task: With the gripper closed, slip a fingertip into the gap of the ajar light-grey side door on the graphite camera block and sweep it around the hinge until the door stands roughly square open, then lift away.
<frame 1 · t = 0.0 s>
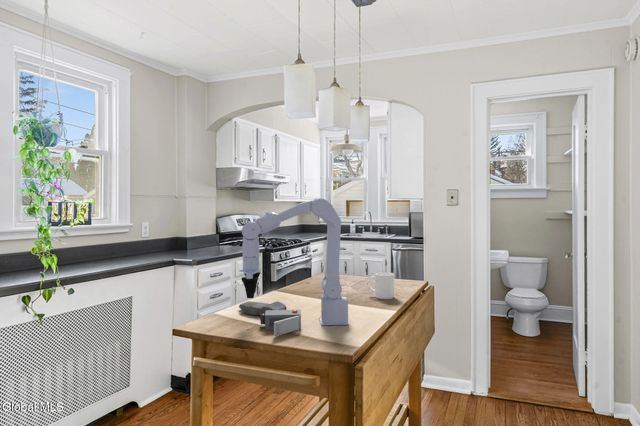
hand: (251, 295, 151), 10 cm above the table, fingers open, 7 cm apart
camera body: (283, 326, 148), on the table
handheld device: (259, 314, 164), on the table
side door: (288, 325, 141), point 2 cm above the table, hinge at 40.0°
mug: (380, 297, 190), on the table
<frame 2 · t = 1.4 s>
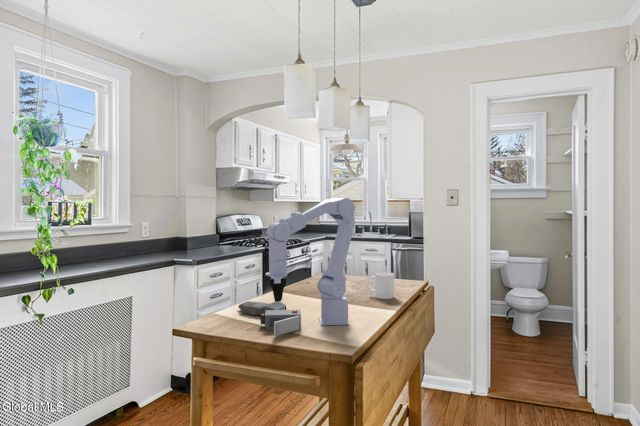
hand: (278, 300, 142), 10 cm above the table, fingers closed
nothing on the table moved.
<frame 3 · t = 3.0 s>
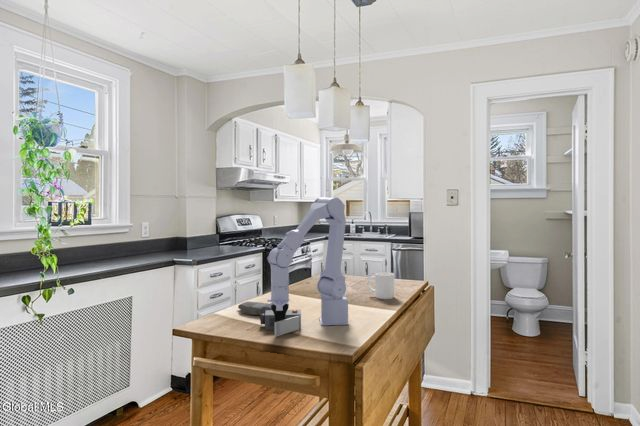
hand: (279, 326, 141), 2 cm above the table, fingers closed, pressing on side door
side door: (288, 325, 141), point 3 cm above the table, hinge at 41.6°, touching gripper
everything else where it was.
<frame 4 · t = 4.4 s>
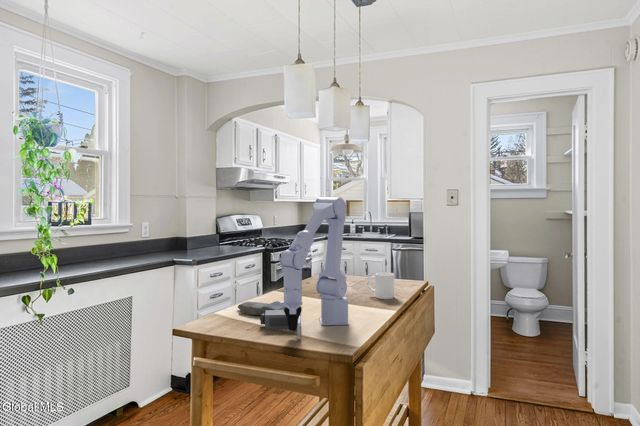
hand: (292, 330, 137), 2 cm above the table, fingers closed, pressing on side door
side door: (299, 327, 140), point 3 cm above the table, hinge at 86.3°, touching gripper
everything else where it was.
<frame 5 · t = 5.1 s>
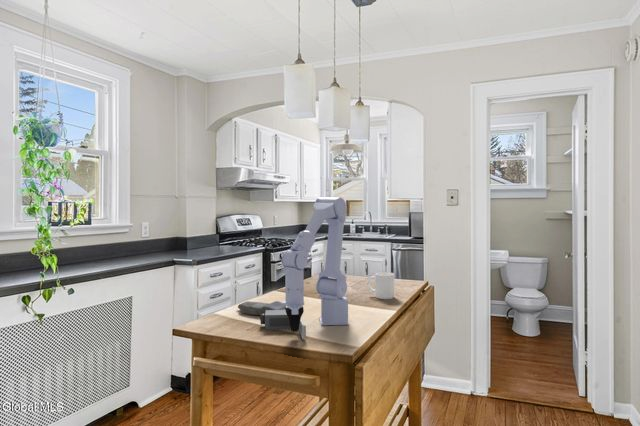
hand: (294, 330, 137), 2 cm above the table, fingers closed
side door: (302, 327, 140), point 3 cm above the table, hinge at 94.5°
everything else where it was.
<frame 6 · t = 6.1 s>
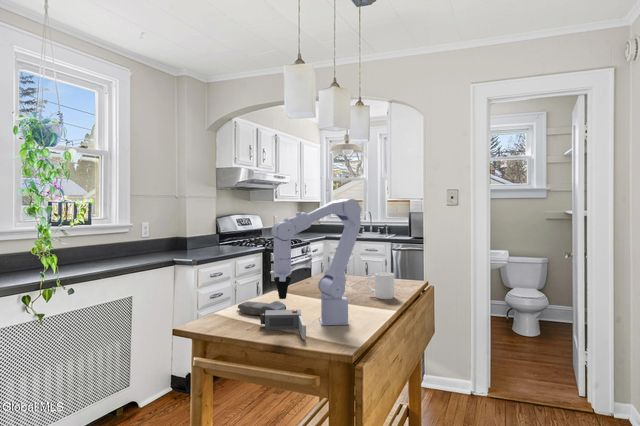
hand: (282, 298, 145), 10 cm above the table, fingers closed
nothing on the table moved.
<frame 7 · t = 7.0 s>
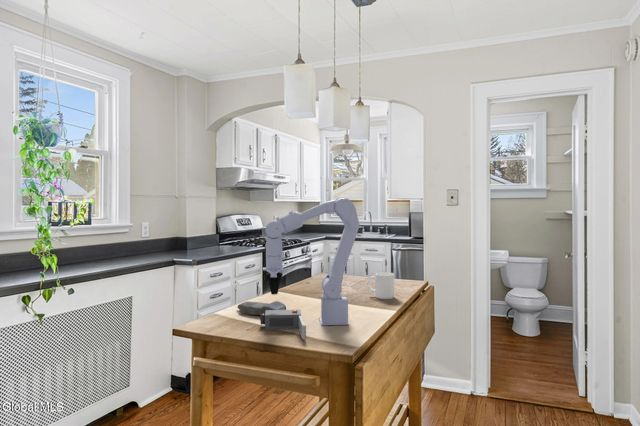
hand: (274, 294, 151), 10 cm above the table, fingers closed
nothing on the table moved.
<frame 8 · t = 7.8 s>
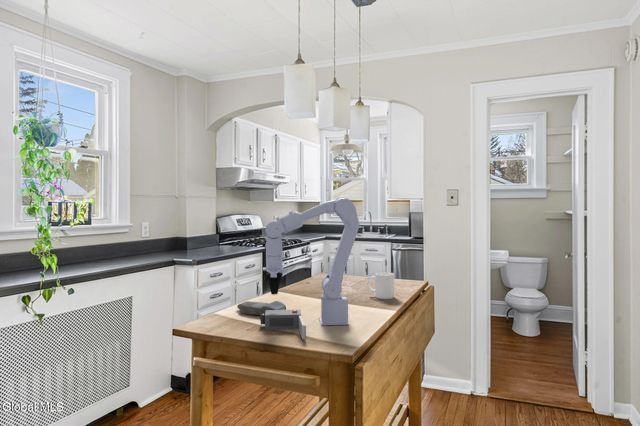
hand: (274, 294, 151), 10 cm above the table, fingers closed
nothing on the table moved.
at the end: side door at +95° (first picture: +40°) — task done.
